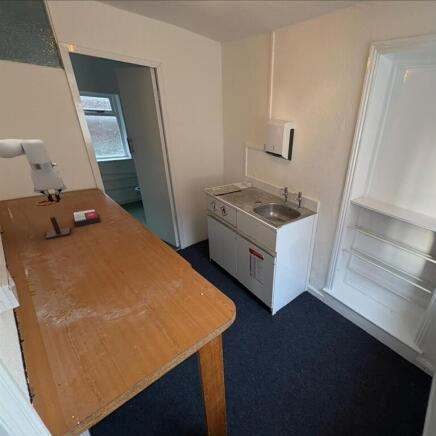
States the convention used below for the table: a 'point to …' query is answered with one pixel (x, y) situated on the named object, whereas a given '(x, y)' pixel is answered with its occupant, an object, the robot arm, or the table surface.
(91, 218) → the calculator
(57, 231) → the post
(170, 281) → the table surface
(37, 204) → the orange ring
